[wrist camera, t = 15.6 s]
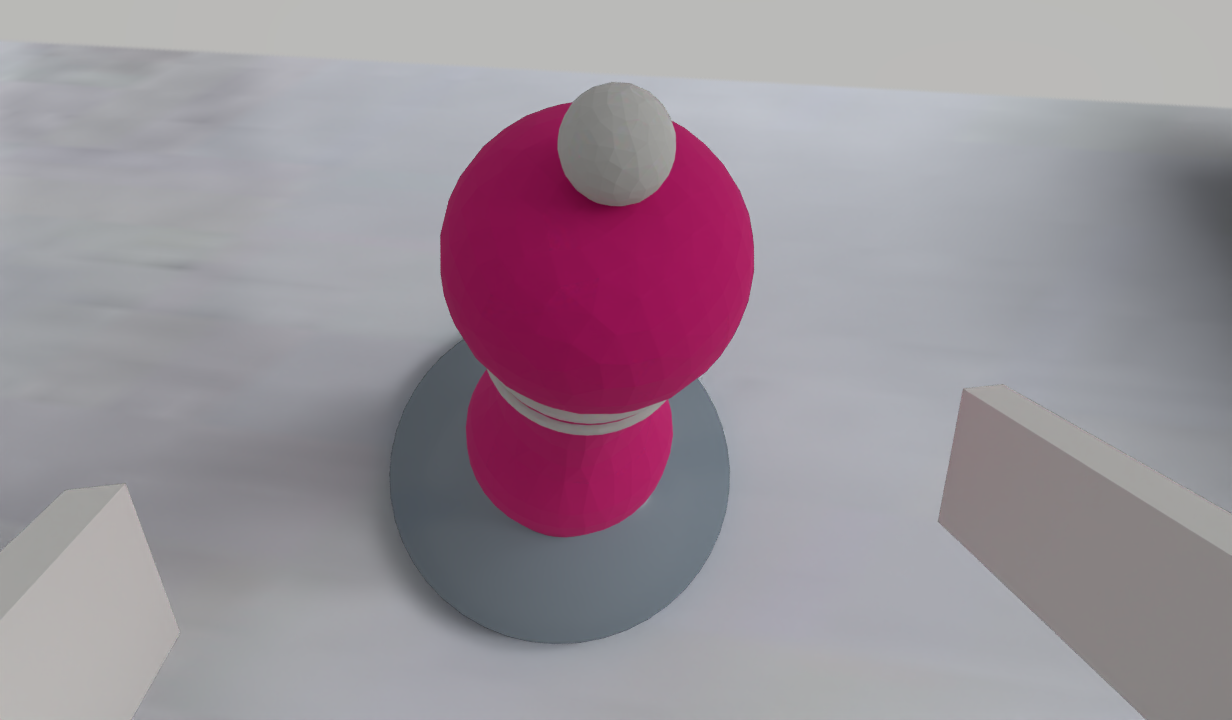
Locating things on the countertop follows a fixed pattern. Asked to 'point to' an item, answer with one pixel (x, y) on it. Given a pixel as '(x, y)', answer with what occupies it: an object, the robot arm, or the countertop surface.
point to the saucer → (536, 563)
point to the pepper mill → (589, 300)
